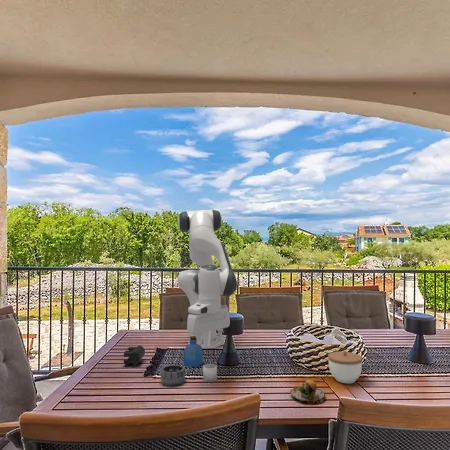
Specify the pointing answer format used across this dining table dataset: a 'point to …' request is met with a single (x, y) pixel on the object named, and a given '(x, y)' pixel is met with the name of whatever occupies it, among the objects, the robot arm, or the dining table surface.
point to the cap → (210, 372)
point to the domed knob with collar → (172, 375)
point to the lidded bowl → (345, 366)
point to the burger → (308, 393)
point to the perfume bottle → (193, 353)
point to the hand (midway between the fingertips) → (209, 342)
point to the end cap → (134, 356)
